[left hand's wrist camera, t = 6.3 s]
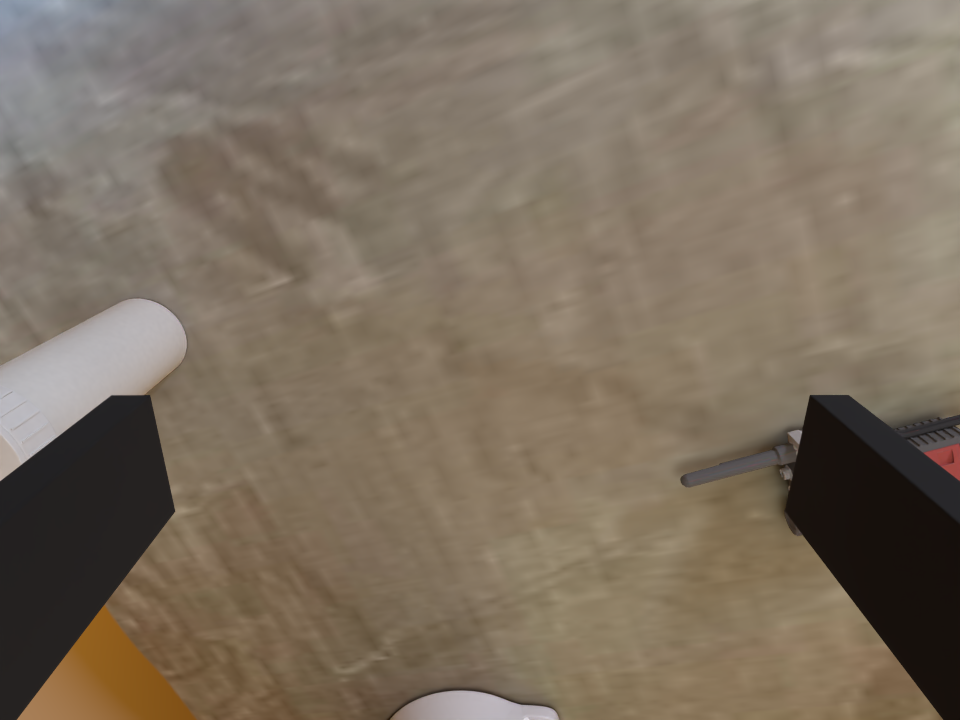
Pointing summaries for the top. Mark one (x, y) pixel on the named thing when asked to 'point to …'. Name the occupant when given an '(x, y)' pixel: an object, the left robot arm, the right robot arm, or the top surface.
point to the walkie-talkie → (932, 437)
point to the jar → (98, 361)
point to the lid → (20, 431)
